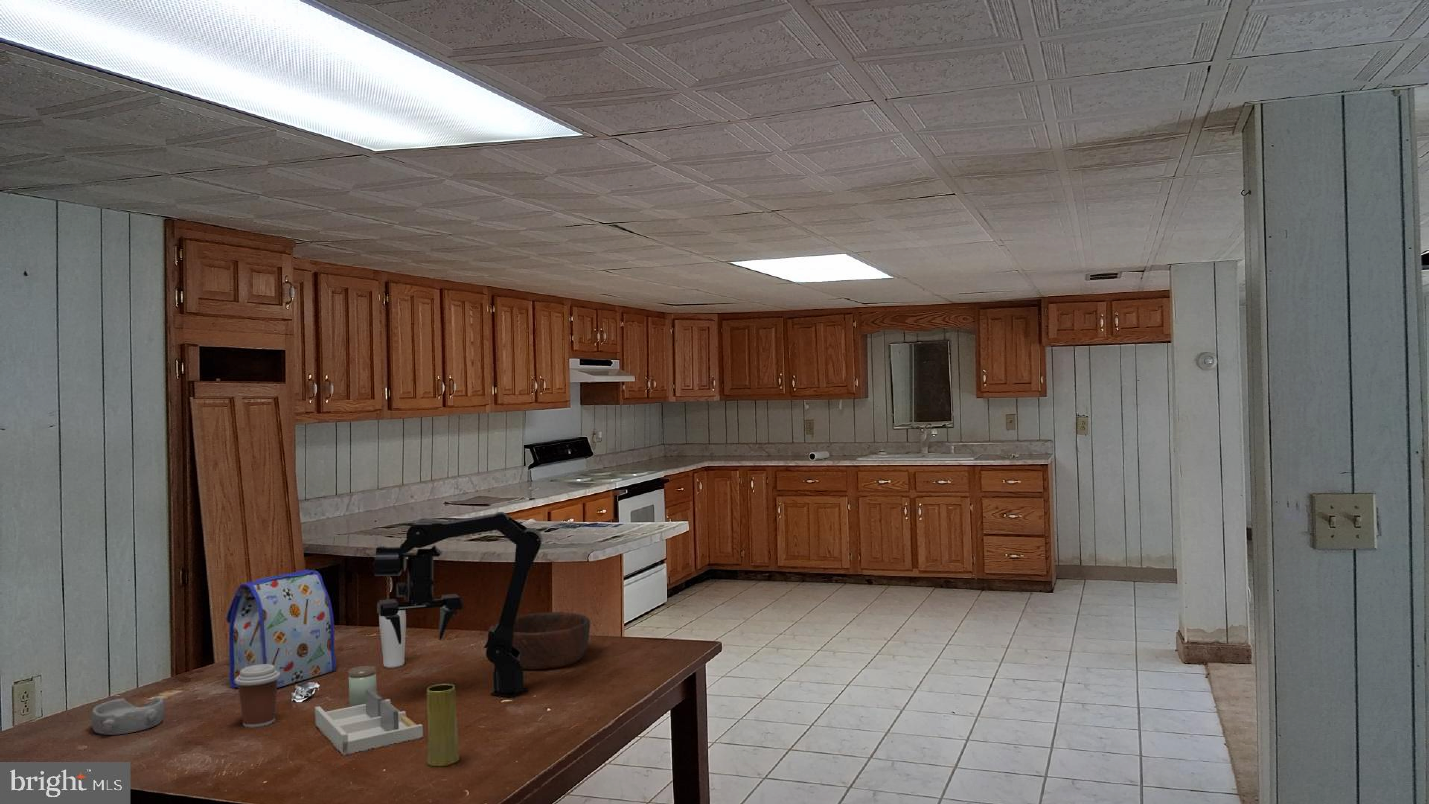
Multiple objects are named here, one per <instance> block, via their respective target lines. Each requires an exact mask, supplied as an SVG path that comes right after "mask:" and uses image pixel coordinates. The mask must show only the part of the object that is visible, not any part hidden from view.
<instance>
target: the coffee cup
mask: <svg viewBox="0 0 1429 804" xmlns="http://www.w3.org/2000/svg"><path fill="white" fill-rule="evenodd" d="M279 678H280V672H278V671H277V670H275V666H274V665H270V664H261V665H253V666H249V667H245V668H243V669H242V670H241V671H240V674H239V676H238V677H236V679H235V683H236V684H237V685H238V686H239V688H238V691H239V692H238V693H239V700H240V708H241V709H240V710H241V715H242V716H241V717H242V718H241V719H242V725H243V727H245V728H259V727H265V726H268V725H271V724H273V723H275V722H276V710H277V709H276V707H277V690H278V688H277V679H279ZM272 722H273V723H272ZM264 725H265V726H264Z"/></svg>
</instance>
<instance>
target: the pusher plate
mask: <svg viewBox="0 0 1429 804" xmlns="http://www.w3.org/2000/svg"><path fill="white" fill-rule="evenodd" d="M382 700H383V697H382V696H380V695H379V694H376V693H375V692H374V691H373V690H371V689H366V714H367V715H368V716H370V717H371V718H374V717H379V716H381V713H380V701H382Z"/></svg>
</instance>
